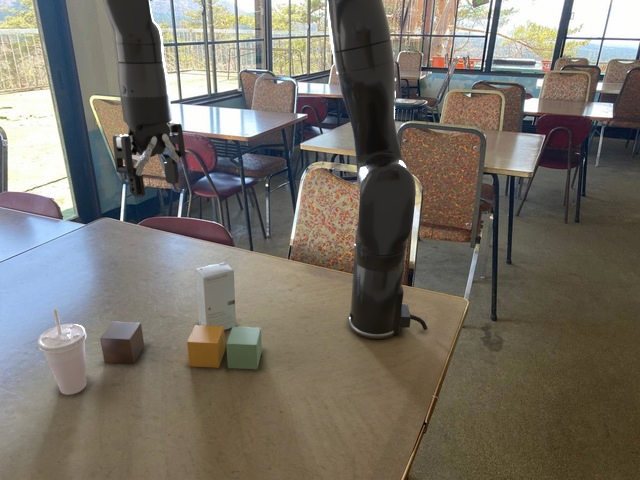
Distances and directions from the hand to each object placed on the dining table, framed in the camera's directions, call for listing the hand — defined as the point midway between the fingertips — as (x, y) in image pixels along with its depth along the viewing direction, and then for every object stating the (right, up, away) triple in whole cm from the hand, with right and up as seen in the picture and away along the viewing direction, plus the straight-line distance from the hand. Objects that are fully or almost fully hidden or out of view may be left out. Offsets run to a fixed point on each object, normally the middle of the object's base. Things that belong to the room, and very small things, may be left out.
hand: (156, 189), depth 83 cm
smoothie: (-11, -32, -7) cm, 35 cm away
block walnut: (-6, -29, 0) cm, 29 cm away
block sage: (+15, -29, 0) cm, 33 cm away
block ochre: (+9, -29, 0) cm, 31 cm away
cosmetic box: (+9, -25, +9) cm, 28 cm away
